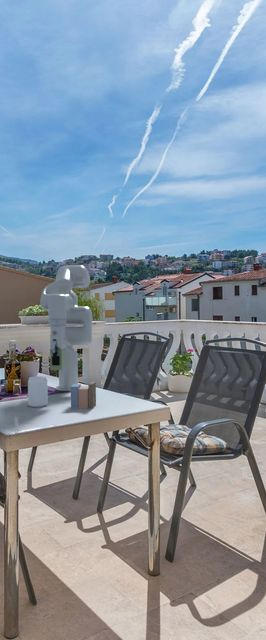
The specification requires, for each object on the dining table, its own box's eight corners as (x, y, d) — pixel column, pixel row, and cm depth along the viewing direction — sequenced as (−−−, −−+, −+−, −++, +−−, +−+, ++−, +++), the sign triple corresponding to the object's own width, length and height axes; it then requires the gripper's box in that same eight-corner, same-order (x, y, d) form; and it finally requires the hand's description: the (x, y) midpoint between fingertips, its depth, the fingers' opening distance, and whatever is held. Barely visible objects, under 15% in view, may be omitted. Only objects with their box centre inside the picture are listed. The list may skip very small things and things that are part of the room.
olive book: (54, 367, 223) (53, 347, 222) (65, 367, 222) (64, 347, 222) (50, 370, 216) (50, 349, 216) (61, 370, 216) (61, 349, 216)
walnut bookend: (91, 404, 217) (91, 381, 216) (96, 404, 216) (95, 381, 216) (88, 408, 210) (88, 384, 209) (93, 408, 210) (93, 384, 209)
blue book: (74, 404, 217) (73, 384, 217) (80, 404, 217) (80, 384, 216) (70, 408, 211) (70, 386, 210) (77, 408, 210) (77, 386, 210)
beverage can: (28, 408, 211) (28, 379, 210) (27, 404, 219) (27, 376, 218) (48, 407, 213) (47, 378, 212) (46, 403, 220) (46, 375, 220)
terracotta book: (81, 405, 217) (81, 386, 216) (90, 405, 216) (90, 386, 216) (78, 408, 210) (78, 389, 210) (87, 408, 210) (87, 389, 210)
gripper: (61, 324, 210) (61, 367, 210) (70, 321, 227) (70, 361, 228) (43, 324, 210) (44, 366, 211) (53, 321, 227) (54, 361, 228)
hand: (57, 363), depth 219 cm, fingers closed on olive book, 6 cm apart
